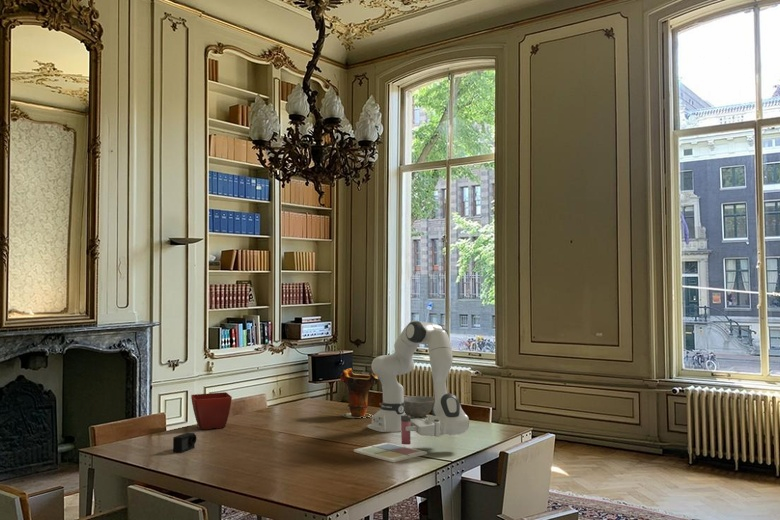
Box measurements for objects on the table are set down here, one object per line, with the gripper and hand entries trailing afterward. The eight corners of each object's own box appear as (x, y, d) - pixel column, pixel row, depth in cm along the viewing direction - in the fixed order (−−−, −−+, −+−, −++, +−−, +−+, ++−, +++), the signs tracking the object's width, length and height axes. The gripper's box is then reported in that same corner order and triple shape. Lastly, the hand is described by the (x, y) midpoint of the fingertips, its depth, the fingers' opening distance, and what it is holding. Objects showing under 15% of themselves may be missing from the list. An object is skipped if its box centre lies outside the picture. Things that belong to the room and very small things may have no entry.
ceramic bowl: (400, 412, 383) (399, 395, 384) (438, 413, 380) (438, 396, 381) (395, 419, 361) (395, 401, 362) (435, 420, 358) (435, 402, 359)
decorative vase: (378, 419, 362) (377, 370, 363) (338, 419, 362) (338, 371, 364) (379, 413, 382) (378, 367, 384) (341, 413, 382) (341, 367, 384)
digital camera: (183, 453, 285) (183, 437, 285) (172, 452, 286) (173, 437, 287) (196, 448, 295) (197, 433, 295) (186, 447, 296) (186, 432, 297)
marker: (399, 443, 282) (399, 415, 283) (407, 442, 284) (406, 414, 285) (404, 444, 278) (404, 417, 279) (412, 443, 281) (412, 416, 282)
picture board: (353, 451, 285) (353, 449, 285) (386, 444, 298) (386, 442, 299) (393, 462, 266) (393, 459, 266) (426, 454, 279) (426, 451, 280)
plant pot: (194, 432, 331) (195, 399, 332) (190, 425, 349) (190, 394, 350) (232, 428, 339) (232, 396, 340) (226, 422, 356) (226, 392, 357)
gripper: (427, 414, 295) (398, 416, 292) (440, 422, 275) (409, 424, 272) (427, 428, 295) (398, 430, 291) (440, 437, 275) (409, 439, 272)
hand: (403, 427), depth 282 cm, fingers closed on marker, 4 cm apart
